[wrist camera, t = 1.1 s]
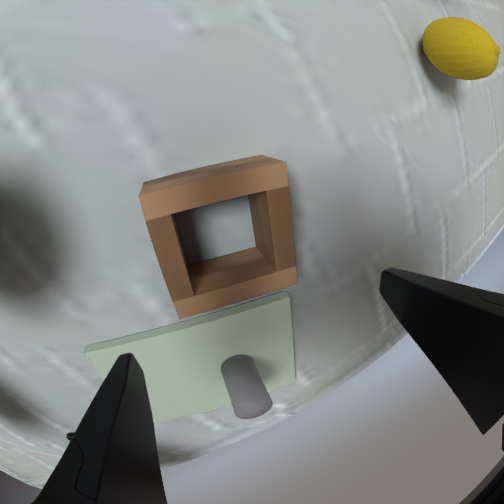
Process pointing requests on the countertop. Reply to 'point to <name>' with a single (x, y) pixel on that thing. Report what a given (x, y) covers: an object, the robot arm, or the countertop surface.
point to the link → (232, 265)
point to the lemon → (460, 48)
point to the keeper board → (211, 359)
